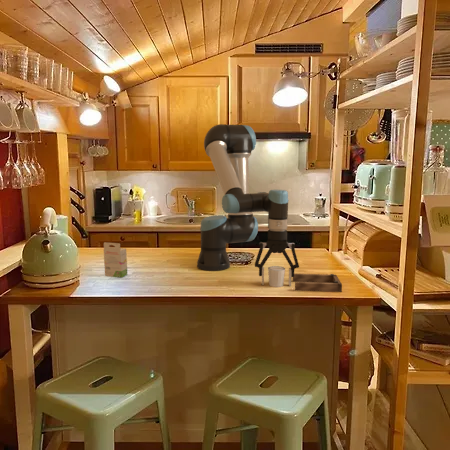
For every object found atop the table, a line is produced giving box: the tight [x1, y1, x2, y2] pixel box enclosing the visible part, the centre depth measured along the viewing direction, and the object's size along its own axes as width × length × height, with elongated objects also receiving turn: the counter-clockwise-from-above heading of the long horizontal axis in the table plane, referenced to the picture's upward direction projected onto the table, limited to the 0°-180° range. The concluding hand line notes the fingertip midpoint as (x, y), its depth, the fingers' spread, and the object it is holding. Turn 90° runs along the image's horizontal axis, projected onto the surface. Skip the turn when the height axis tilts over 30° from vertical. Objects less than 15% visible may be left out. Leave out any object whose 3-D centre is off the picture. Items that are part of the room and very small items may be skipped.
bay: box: [292, 273, 343, 293], centre depth 168 cm, size 18×13×4 cm
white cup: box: [267, 265, 286, 288], centre depth 169 cm, size 7×7×7 cm
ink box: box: [103, 242, 128, 278], centre depth 181 cm, size 9×5×15 cm, turn 71°
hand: (276, 284), depth 170 cm, fingers open, 10 cm apart
